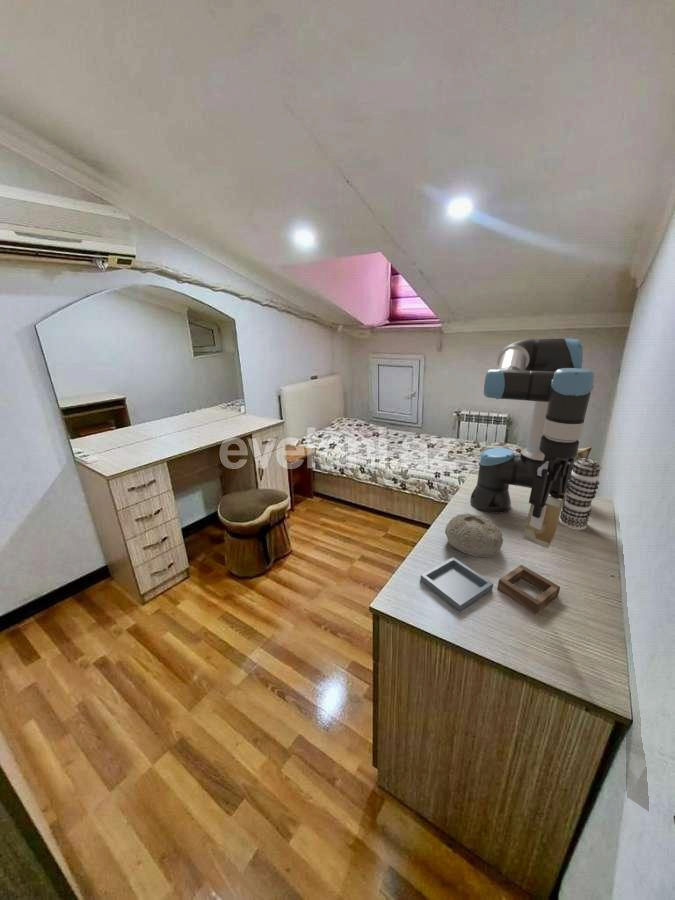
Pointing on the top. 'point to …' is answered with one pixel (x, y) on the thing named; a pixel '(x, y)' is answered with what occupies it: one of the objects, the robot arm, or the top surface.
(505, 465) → the robot arm
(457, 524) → the decorative shell
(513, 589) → the socket block
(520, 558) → the top surface
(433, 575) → the tray
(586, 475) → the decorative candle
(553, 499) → the skincare box
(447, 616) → the top surface
